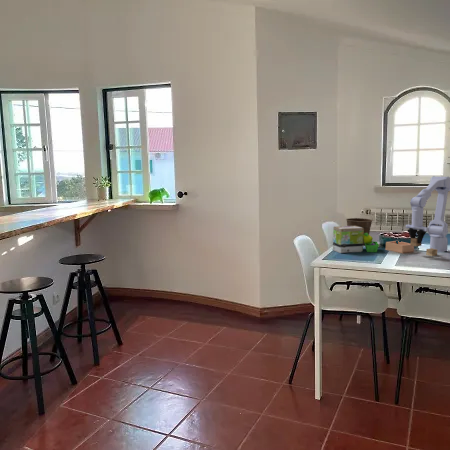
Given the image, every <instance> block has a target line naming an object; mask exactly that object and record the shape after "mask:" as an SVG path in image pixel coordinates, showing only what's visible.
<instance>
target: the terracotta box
mask: <svg viewBox="0 0 450 450" xmlns="http://www.w3.org/2000/svg"><path fill="white" fill-rule="evenodd" d="M396 241H398V244H397V243H396ZM399 241H400V240H393V241H385V249H386V250H385V251H388V250H389V252H392V251H394V252H393V253H396V252H398V253H397V254H401V253H402V255H404V254H403V253H410V252H414V251H415V246H412V245H411V242H410V243H409V242H404V241H401V242H399Z"/></svg>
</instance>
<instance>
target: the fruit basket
mask: <svg viewBox="0 0 450 450" xmlns="http://www.w3.org/2000/svg"><path fill="white" fill-rule="evenodd" d="M373 238H374V237H373V236H371V235H370V233H369V234H368V233H364V235H363V241H364V243H365V245H364V248H365V250H366V252H367V253H377V252H378V249H379V247H380V244H379V243H378V242H377V241H373Z"/></svg>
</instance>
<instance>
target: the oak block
mask: <svg viewBox="0 0 450 450" xmlns="http://www.w3.org/2000/svg"><path fill="white" fill-rule="evenodd" d="M425 255H426V256H430V257H434V256H435V257H436V256H438V252H437V249H432V248H430V247H429V248H426V252H425Z"/></svg>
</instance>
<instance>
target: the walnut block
mask: <svg viewBox="0 0 450 450" xmlns="http://www.w3.org/2000/svg"><path fill="white" fill-rule="evenodd" d="M417 239H418V238H417V237H416V238H410V244H411V245H412V246H414V247H421V246H422V243H423V242H421V243H418V241H417Z"/></svg>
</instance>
